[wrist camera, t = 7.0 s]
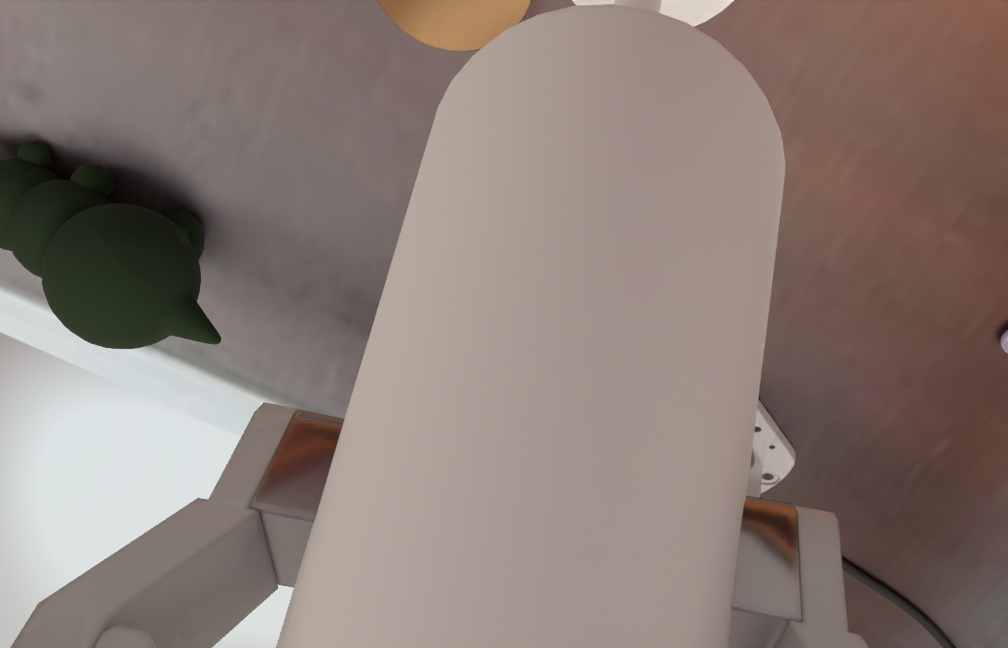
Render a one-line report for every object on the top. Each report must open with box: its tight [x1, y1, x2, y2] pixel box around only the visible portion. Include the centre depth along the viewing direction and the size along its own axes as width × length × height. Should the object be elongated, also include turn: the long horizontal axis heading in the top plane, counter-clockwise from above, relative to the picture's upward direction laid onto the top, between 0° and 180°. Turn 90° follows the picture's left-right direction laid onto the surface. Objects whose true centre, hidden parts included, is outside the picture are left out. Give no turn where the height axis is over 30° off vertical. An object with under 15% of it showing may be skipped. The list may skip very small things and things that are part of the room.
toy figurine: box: [0, 141, 221, 349], centre depth 55 cm, size 9×19×25 cm
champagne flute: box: [276, 0, 786, 648], centre depth 18 cm, size 7×7×24 cm
